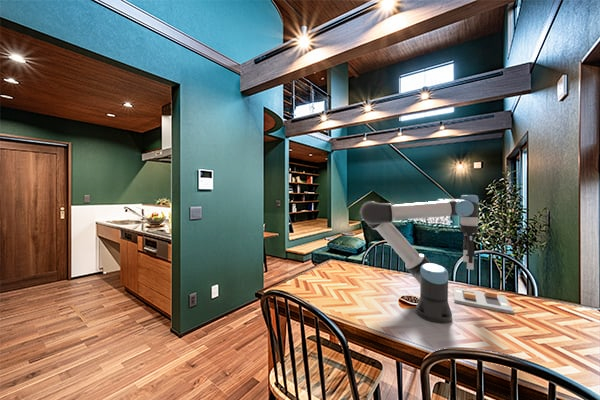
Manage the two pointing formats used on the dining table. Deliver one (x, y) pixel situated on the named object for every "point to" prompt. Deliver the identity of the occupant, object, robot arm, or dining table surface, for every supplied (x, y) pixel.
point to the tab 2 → (490, 294)
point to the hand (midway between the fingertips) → (468, 265)
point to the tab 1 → (470, 295)
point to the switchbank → (483, 300)
